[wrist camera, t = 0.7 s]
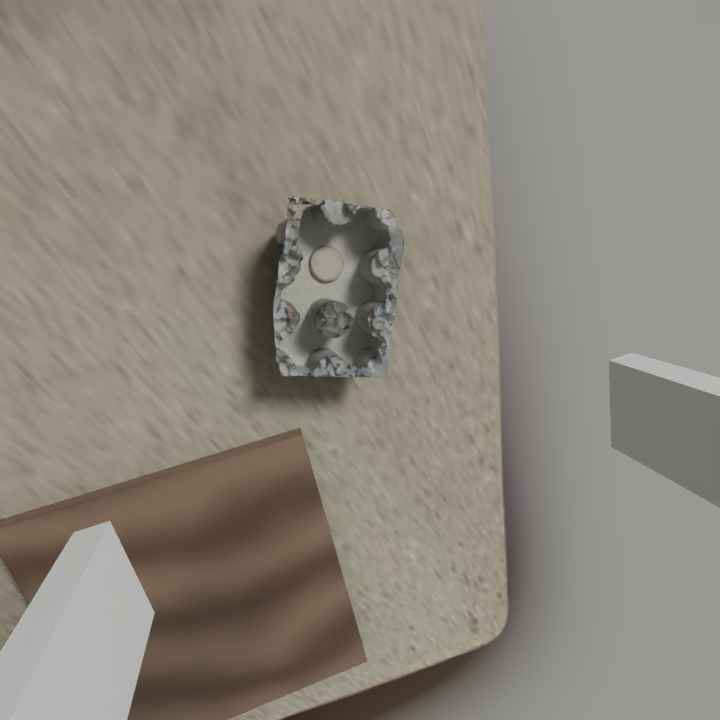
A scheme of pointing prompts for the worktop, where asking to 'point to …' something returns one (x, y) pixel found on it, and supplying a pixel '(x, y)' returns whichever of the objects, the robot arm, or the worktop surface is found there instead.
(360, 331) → the egg carton
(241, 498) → the walnut board
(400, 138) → the worktop surface
